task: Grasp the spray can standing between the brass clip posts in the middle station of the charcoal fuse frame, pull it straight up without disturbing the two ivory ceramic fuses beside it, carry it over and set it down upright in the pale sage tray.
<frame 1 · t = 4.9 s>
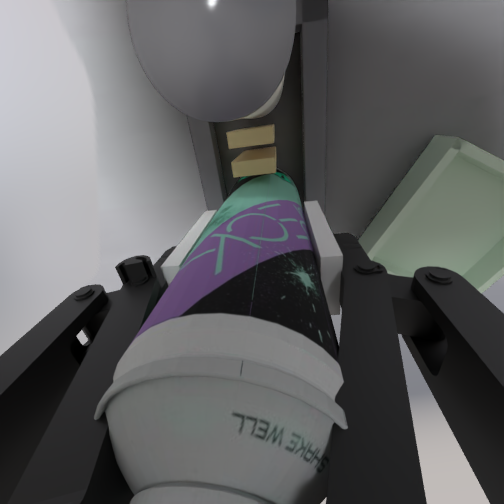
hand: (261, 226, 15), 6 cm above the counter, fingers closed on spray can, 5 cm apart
spray can: (265, 199, 20), resting in fuse frame, touching gripper
fuse frame: (265, 199, 20), on the counter
fuse 2: (253, 85, 16), resting in fuse frame
tray: (440, 225, 20), on the counter
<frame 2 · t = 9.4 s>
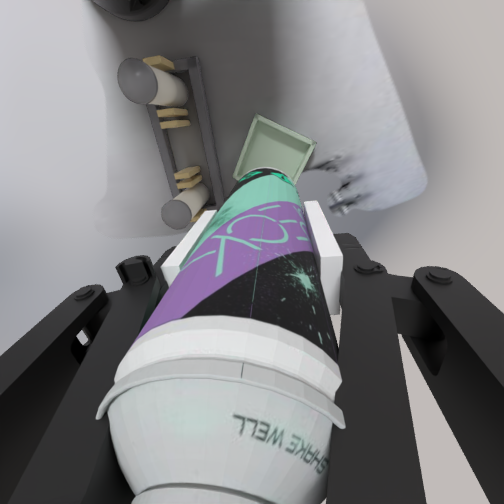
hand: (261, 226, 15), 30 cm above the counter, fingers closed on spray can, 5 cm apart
spray can: (265, 199, 20), point 24 cm above the counter, touching gripper
fuse 1: (199, 193, 45), resting in fuse frame
fuse frame: (188, 147, 41), on the counter
fuse 2: (175, 92, 38), resting in fuse frame
tray: (272, 158, 41), on the counter
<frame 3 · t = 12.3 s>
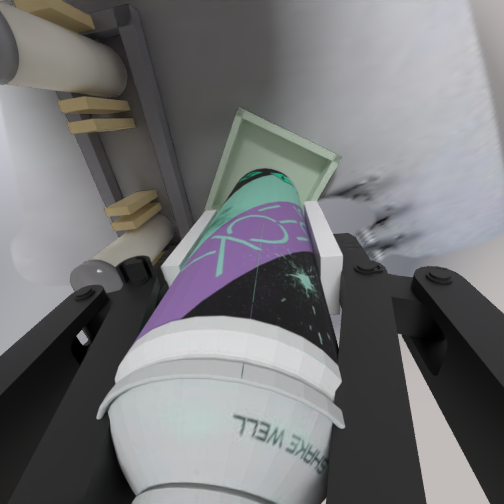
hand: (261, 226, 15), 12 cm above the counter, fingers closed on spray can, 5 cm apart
spray can: (265, 199, 20), point 6 cm above the counter, touching gripper
fuse 1: (158, 228, 30), resting in fuse frame
fuse frame: (136, 161, 26), on the counter
fuse 2: (106, 71, 23), resting in fuse frame
tray: (268, 180, 26), on the counter
when the fingers open (8 cm above the counter, at t = 14.2 s): spray can drops 1 cm, resting on tray.
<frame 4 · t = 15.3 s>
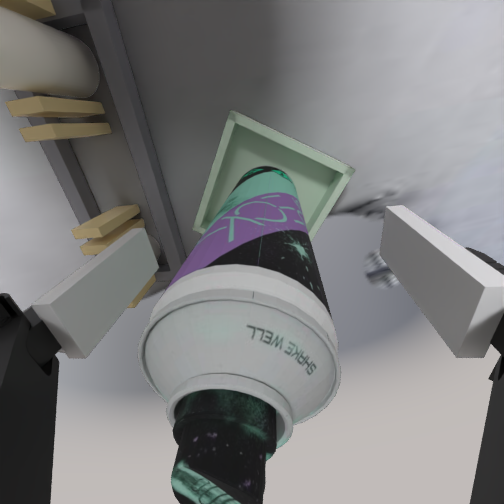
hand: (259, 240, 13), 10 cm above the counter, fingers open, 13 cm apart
spray can: (265, 195, 22), resting on tray
fuse frame: (114, 172, 23), on the counter
fuse 2: (74, 67, 19), resting in fuse frame
tray: (267, 194, 22), on the counter
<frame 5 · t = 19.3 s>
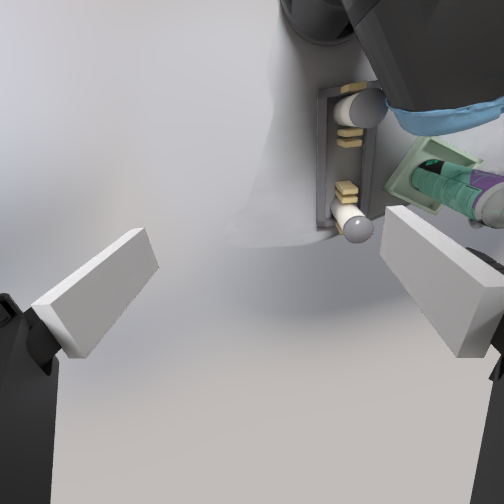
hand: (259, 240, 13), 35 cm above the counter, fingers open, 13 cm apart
spray can: (425, 174, 42), resting on tray
fuse 1: (340, 205, 47), resting in fuse frame
fuse frame: (343, 162, 43), on the counter
fuse 2: (345, 111, 39), resting in fuse frame
tray: (425, 174, 43), on the counter
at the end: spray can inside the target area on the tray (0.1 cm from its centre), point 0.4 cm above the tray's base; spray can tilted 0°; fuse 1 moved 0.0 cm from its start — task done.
